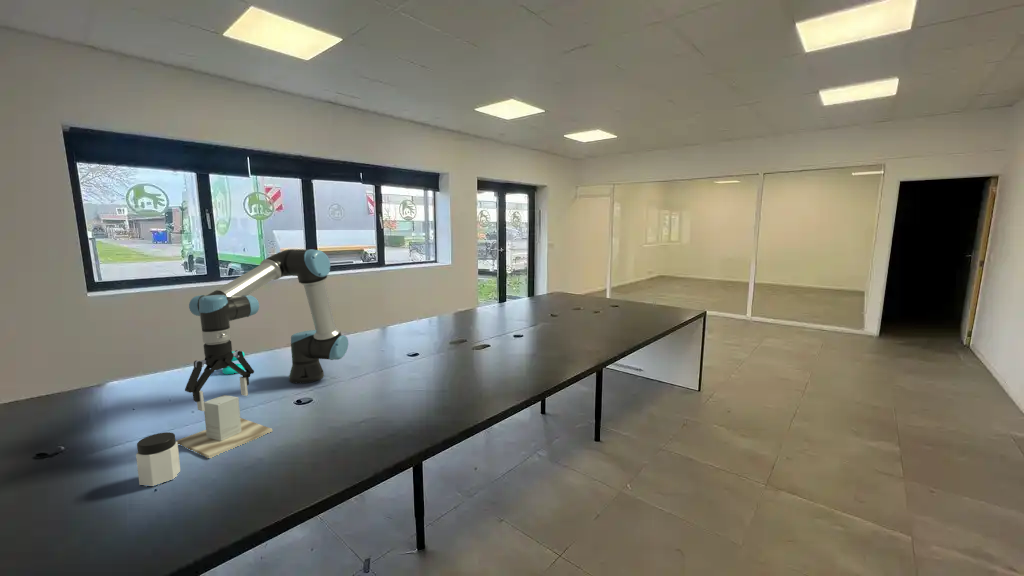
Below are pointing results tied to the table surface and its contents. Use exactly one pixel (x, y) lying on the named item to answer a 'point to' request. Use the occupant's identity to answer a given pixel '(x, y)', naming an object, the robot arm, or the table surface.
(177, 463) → the jar
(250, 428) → the birch board
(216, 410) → the supplement box
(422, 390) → the table surface
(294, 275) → the robot arm
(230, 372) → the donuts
